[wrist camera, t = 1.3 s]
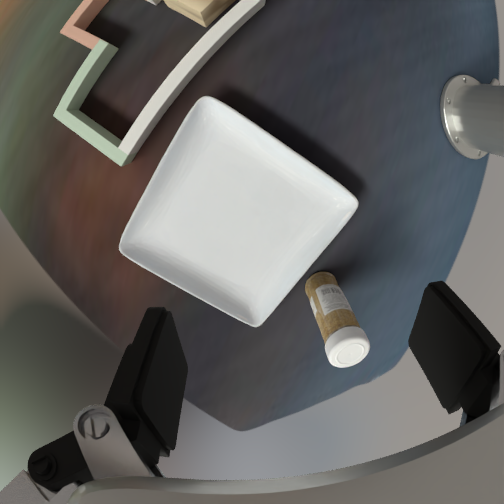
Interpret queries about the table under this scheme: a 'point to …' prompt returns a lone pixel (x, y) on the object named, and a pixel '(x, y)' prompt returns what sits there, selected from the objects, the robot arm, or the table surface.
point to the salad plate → (234, 214)
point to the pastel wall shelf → (164, 95)
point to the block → (200, 9)
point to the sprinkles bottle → (336, 321)
